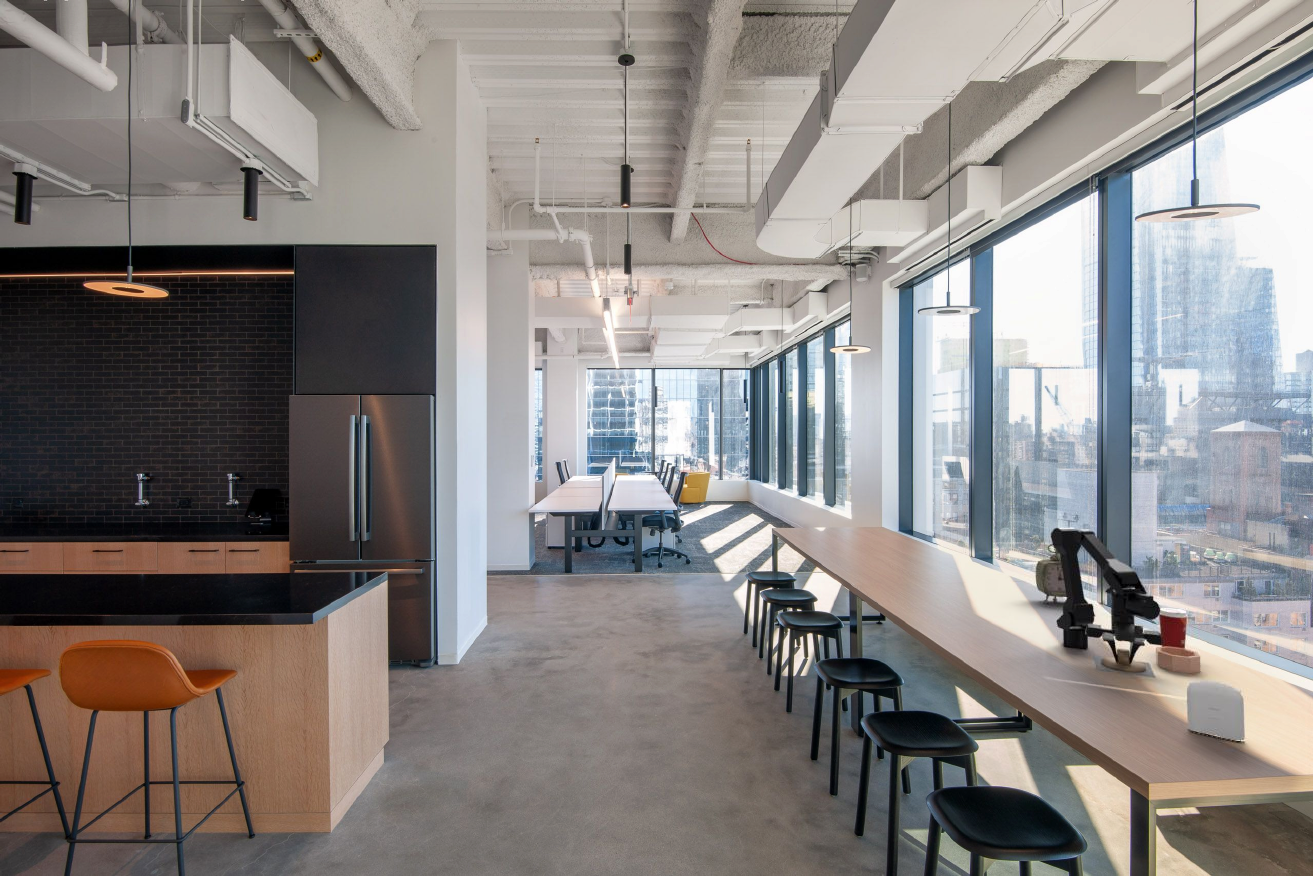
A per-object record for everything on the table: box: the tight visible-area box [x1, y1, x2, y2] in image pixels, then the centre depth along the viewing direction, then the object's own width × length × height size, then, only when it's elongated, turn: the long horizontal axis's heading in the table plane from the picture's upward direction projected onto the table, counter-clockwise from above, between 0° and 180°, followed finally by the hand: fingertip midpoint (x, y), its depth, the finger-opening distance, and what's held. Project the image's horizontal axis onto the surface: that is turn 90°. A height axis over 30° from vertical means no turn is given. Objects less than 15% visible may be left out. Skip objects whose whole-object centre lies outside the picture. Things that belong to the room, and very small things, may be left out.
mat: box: [1094, 655, 1156, 678], centre depth 200 cm, size 14×14×1 cm
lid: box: [1101, 648, 1146, 672], centre depth 200 cm, size 11×11×5 cm
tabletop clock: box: [1035, 543, 1067, 604], centre depth 279 cm, size 14×9×25 cm, turn 81°
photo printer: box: [1186, 680, 1246, 741], centre depth 155 cm, size 10×4×12 cm, turn 47°
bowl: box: [1155, 646, 1201, 674], centre depth 199 cm, size 10×10×5 cm
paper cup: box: [1158, 607, 1189, 649], centre depth 213 cm, size 8×8×14 cm
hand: (1123, 662), depth 200 cm, fingers closed on lid, 3 cm apart
